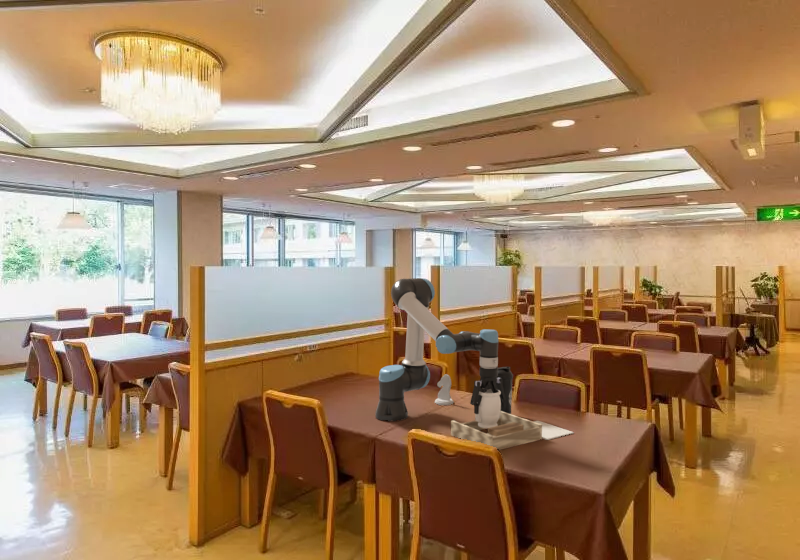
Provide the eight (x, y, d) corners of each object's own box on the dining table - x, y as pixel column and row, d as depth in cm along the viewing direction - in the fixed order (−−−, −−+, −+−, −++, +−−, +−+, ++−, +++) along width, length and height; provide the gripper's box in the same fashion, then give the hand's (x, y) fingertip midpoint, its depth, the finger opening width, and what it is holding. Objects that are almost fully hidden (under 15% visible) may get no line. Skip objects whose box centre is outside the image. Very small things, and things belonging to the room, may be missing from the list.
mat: (512, 427, 230) (512, 426, 230) (537, 421, 238) (537, 420, 238) (547, 440, 213) (547, 438, 213) (573, 433, 221) (573, 432, 221)
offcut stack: (483, 443, 209) (483, 428, 209) (515, 435, 219) (515, 421, 219) (494, 448, 204) (494, 432, 204) (526, 439, 214) (526, 425, 214)
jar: (472, 422, 225) (473, 387, 225) (496, 422, 226) (497, 387, 226) (478, 430, 215) (479, 394, 214) (503, 429, 216) (503, 393, 215)
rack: (450, 435, 219) (451, 420, 219) (500, 424, 234) (500, 410, 234) (490, 452, 199) (490, 436, 199) (541, 439, 214) (541, 424, 214)
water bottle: (512, 419, 242) (513, 369, 241) (490, 417, 244) (490, 368, 243) (512, 413, 252) (512, 365, 251) (491, 412, 254) (491, 364, 253)
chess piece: (441, 399, 278) (442, 371, 278) (457, 402, 272) (457, 373, 271) (430, 403, 270) (430, 374, 270) (446, 406, 264) (446, 376, 264)
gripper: (473, 371, 210) (472, 426, 211) (515, 365, 223) (514, 417, 223) (461, 367, 217) (461, 421, 217) (502, 362, 229) (501, 413, 230)
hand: (487, 419), depth 220 cm, fingers closed on jar, 10 cm apart
